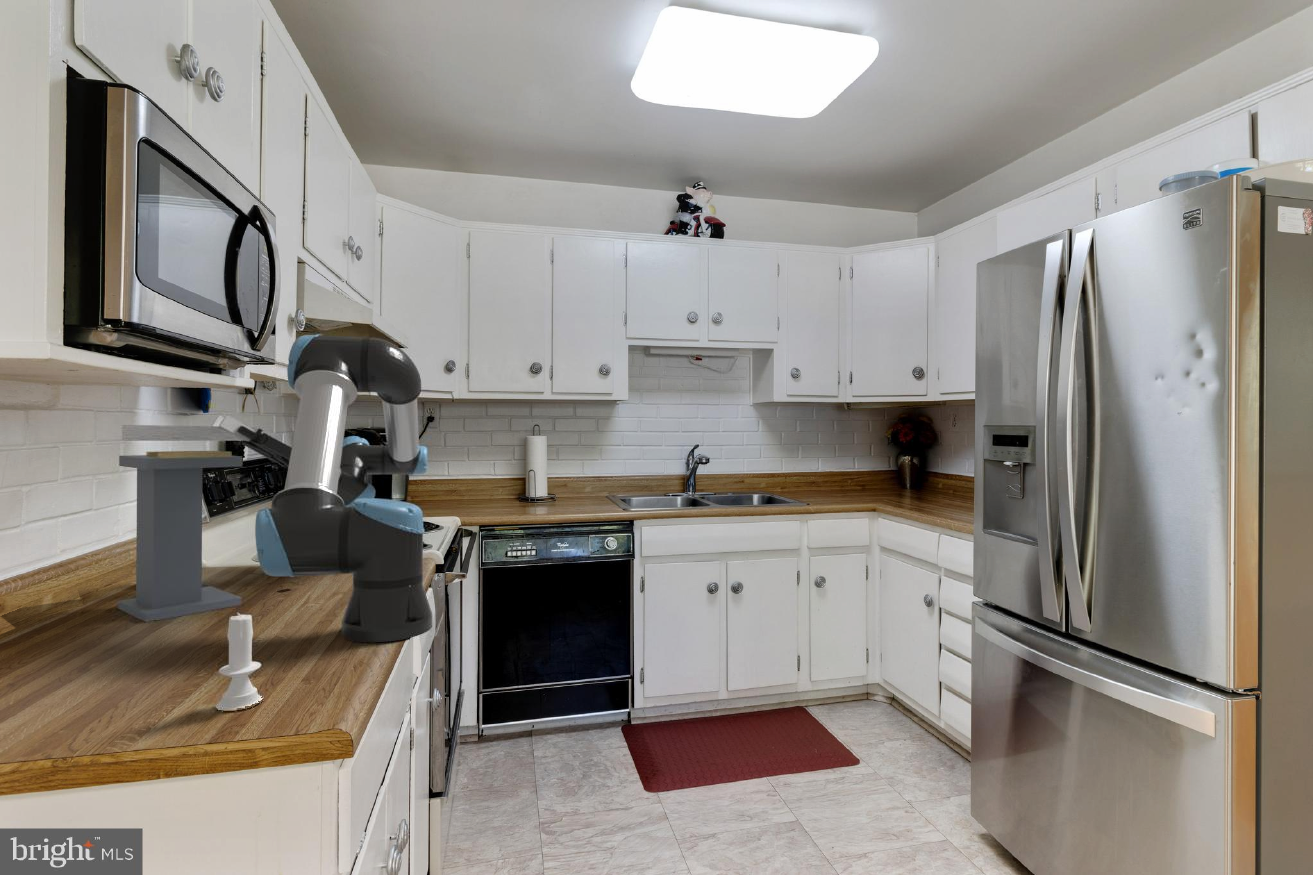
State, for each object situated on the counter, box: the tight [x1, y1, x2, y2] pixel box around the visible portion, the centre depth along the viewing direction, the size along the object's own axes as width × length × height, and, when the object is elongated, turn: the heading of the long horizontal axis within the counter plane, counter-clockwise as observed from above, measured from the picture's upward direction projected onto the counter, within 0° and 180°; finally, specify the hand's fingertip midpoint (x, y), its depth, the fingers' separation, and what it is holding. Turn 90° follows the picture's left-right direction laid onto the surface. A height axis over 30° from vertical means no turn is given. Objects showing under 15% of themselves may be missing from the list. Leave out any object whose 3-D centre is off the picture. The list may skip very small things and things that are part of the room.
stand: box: [117, 454, 243, 623], centre depth 133 cm, size 16×15×30 cm
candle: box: [215, 612, 264, 711], centre depth 87 cm, size 5×5×12 cm
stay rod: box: [121, 424, 272, 442], centre depth 139 cm, size 26×3×3 cm, turn 144°
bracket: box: [145, 450, 233, 458], centre depth 130 cm, size 12×7×1 cm, turn 144°
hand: (219, 420), depth 142 cm, fingers closed on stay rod, 3 cm apart
